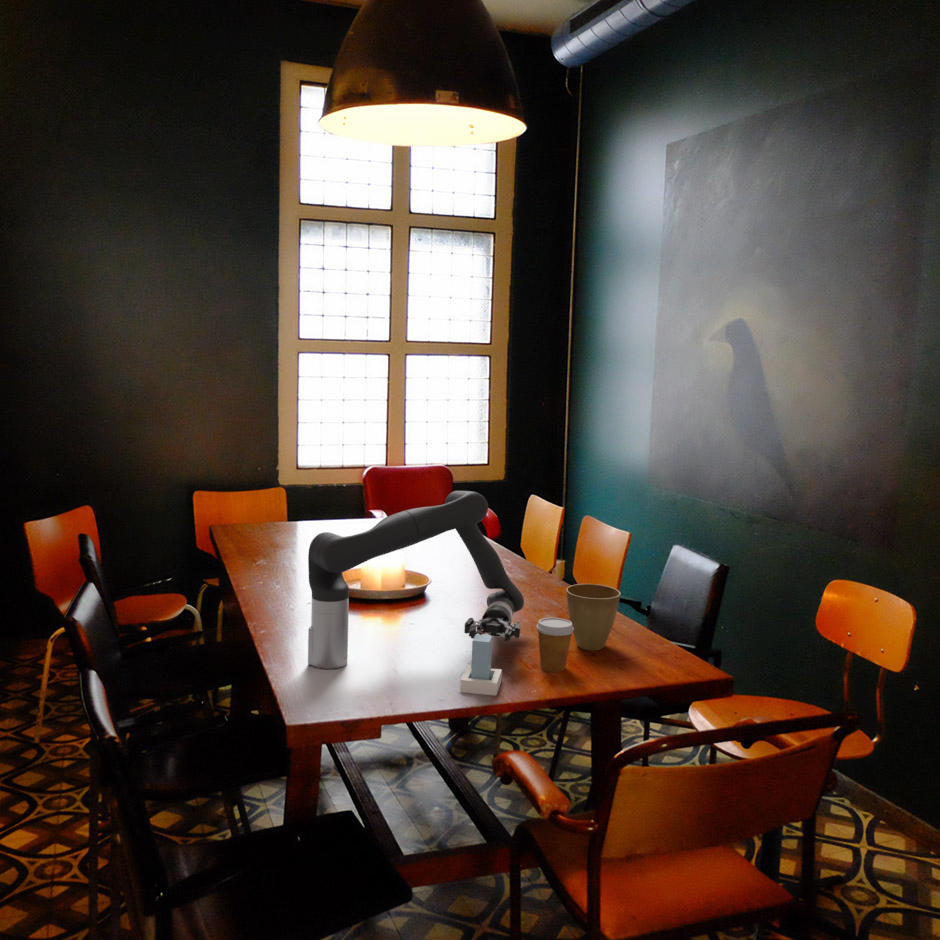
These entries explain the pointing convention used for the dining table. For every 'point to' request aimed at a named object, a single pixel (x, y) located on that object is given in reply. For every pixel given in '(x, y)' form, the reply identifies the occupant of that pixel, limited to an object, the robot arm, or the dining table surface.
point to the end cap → (481, 683)
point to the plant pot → (592, 613)
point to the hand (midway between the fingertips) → (489, 636)
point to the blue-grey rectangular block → (481, 657)
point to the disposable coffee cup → (554, 642)
